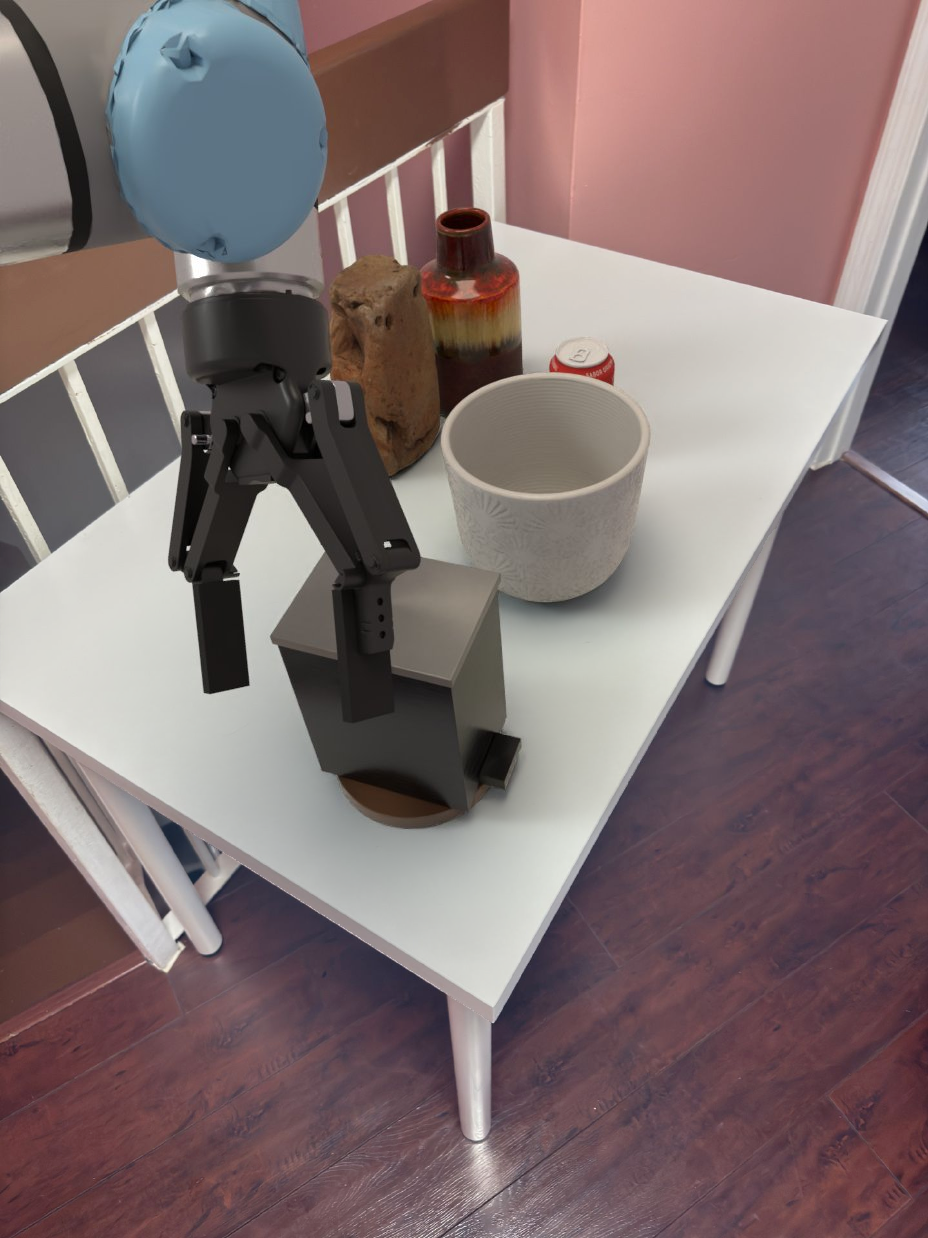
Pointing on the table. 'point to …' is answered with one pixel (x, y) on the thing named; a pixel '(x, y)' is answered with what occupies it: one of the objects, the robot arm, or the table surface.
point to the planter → (546, 480)
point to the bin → (410, 685)
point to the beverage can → (584, 359)
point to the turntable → (399, 805)
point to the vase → (471, 307)
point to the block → (387, 354)
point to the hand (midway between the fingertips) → (291, 702)
